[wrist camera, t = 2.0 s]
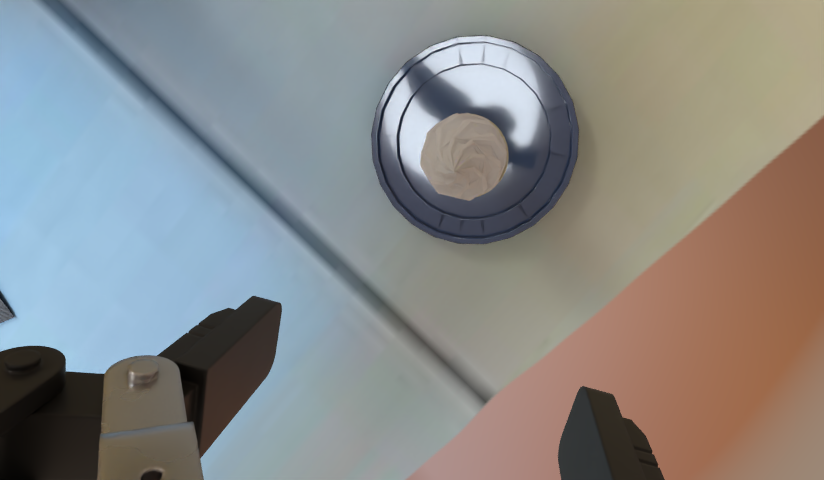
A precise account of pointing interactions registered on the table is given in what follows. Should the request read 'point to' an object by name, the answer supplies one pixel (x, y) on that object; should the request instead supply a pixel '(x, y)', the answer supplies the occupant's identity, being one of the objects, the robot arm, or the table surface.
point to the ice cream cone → (464, 156)
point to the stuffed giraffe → (4, 312)
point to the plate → (494, 100)
